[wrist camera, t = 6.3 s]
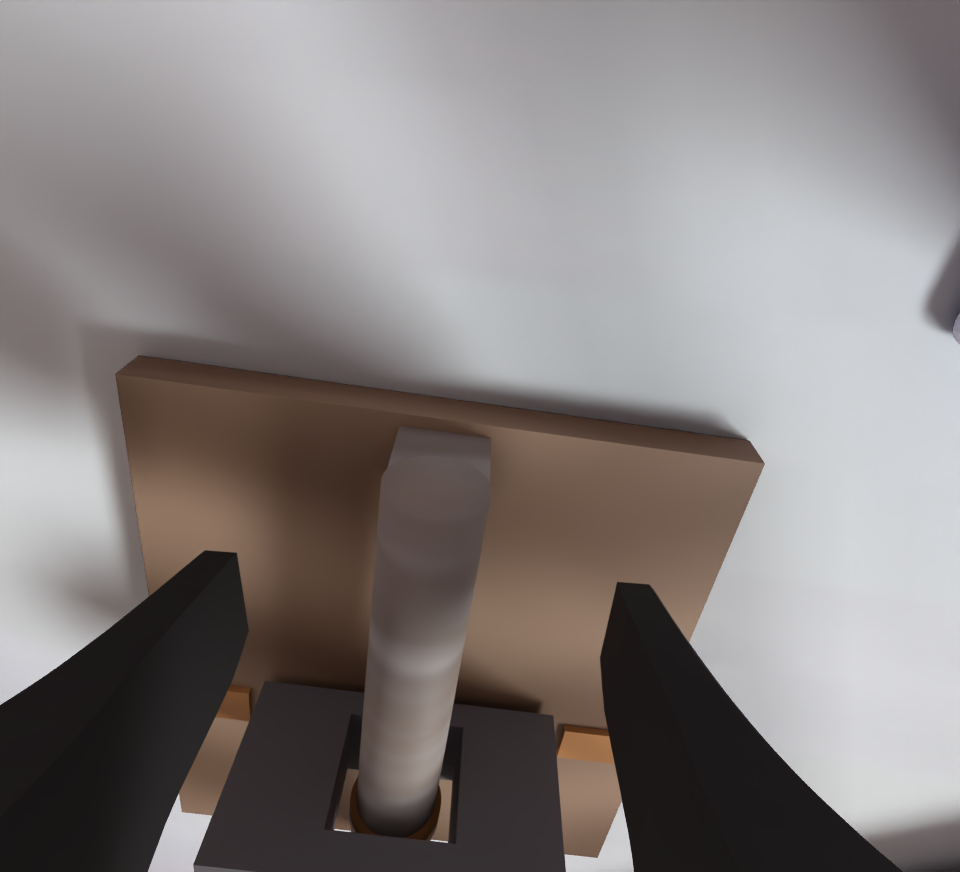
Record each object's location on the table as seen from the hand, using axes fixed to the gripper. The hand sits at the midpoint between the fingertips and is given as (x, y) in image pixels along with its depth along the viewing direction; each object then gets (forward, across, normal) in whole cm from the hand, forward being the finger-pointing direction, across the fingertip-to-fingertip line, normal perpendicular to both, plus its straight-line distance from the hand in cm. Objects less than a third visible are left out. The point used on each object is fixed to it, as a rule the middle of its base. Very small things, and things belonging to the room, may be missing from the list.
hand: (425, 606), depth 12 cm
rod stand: (+4, 0, +6) cm, 7 cm away
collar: (+3, +1, +7) cm, 8 cm away
